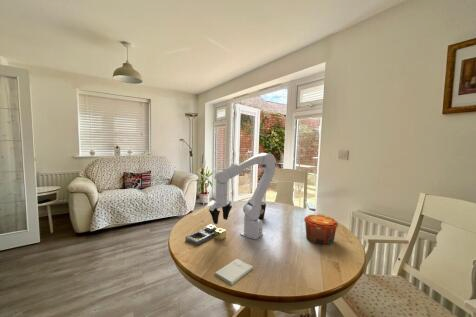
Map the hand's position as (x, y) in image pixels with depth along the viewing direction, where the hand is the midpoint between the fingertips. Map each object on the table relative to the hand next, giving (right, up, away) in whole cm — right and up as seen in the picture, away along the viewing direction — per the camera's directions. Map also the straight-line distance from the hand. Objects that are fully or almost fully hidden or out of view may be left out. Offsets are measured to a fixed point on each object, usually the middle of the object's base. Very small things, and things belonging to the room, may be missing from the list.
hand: (220, 221), depth 103 cm
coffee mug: (+21, -7, +31) cm, 38 cm away
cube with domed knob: (-6, -8, +5) cm, 11 cm away
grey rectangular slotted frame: (-8, -8, +1) cm, 12 cm away
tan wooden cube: (0, -9, +1) cm, 9 cm away
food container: (+51, -10, +2) cm, 52 cm away
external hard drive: (+7, -11, -27) cm, 30 cm away
